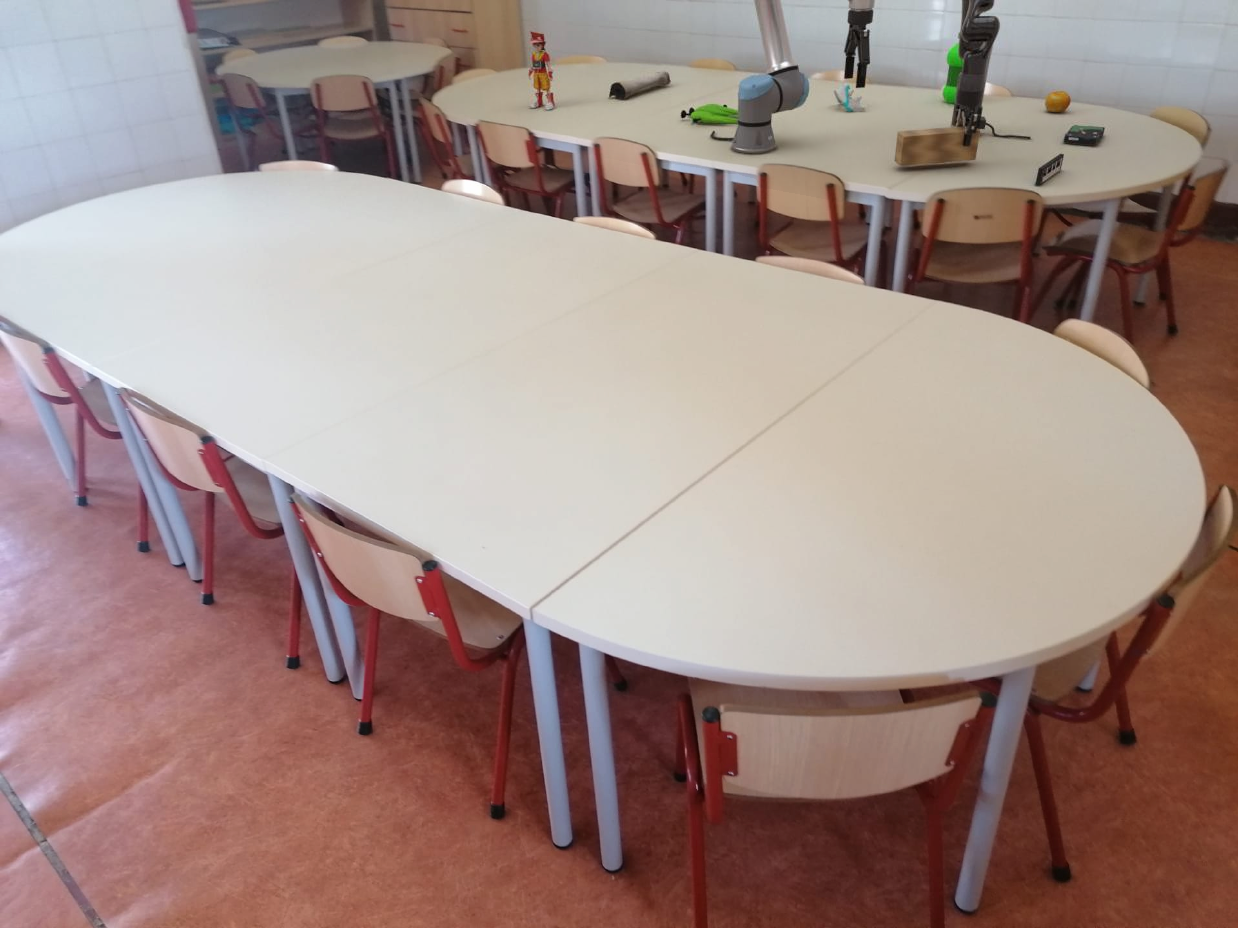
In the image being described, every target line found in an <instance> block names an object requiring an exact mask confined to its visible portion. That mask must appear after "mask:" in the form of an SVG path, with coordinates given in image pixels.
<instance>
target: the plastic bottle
mask: <svg viewBox="0 0 1238 928" xmlns="http://www.w3.org/2000/svg"><path fill="white" fill-rule="evenodd" d="M959 37H960V31H959V32H958V36H957V39H959ZM958 45H959V42H957V43H956V44H954V45H953V46H952V47H951V48H950V49H949V50H948V52H947V54H946V63H947V64H948V69H947V70H948V71H947V76H946V77H947V78H946V84H945V85H944V87H943V90H942V97H943V99H944V100H945V101H946V102H947V103H948V104H954V103H955V96H956V90H957V83H958V77H959V74H960V73H961V72H962V66H963V60H961V59H960V58H959V56H958Z"/></svg>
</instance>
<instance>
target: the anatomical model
mask: <svg viewBox="0 0 1238 928" xmlns="http://www.w3.org/2000/svg"><path fill="white" fill-rule="evenodd" d="M850 89H851V87H850V84H848V83H847V82H844V81H843V82H842V84H841V85H840V86H839V87H836V88H834V90H833V94H834V96H835V98H836V100H837V102H838V104H841V105H843V106H844V108H845V110H846V111H847V112H849V113H850V112H854V111H859V110H860V111H863V110H864V111H865V109H866V108H867V106H866V105H861V104H860V101H861V100H862V99H863V96H862V95H860V96H857V97H855V98H853V97H852V95H853V93H854V92H855V89H854V90H851V91H849V90H850Z"/></svg>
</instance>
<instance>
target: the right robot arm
mask: <svg viewBox="0 0 1238 928" xmlns="http://www.w3.org/2000/svg"><path fill="white" fill-rule="evenodd" d="M994 6H995V0H961V18H960V29H959V32H960V37H959V38H958V43H959V45H958V56H959V58H960V59H961V60H963V66H962V72H961V73H960V74H959V77H958V83H957V90H956V96H955V103H953V110H952V115H951V124H950V126H949V127H959V126H963V127H964V128H965V134H964V140H963V146H970V144H971V137H972V134H973V133H976V131H977V128H978V129H979V130H985V129H986V127H989V128H990V129H991V134H992V135H993V136H994V137H995V138H996V137H998V138H1015V139H1025V140H1031V138H1032V137H1031V136H1029V135H1028V136H1026V135H1015V134H1002V135H1000V134H997V133H995V128H994V126H993V125H992V124H990V123H988V122H987V119H986V117H985V116H983V109H984V107H983V102H984V96H985V90H986V83H987V79H988V72H989V67H990V63H991V58H992V52H993V49H994V44H995V41H996V39H997V37H998V36H999V35H998V34H999V32H1000V30H1001V29H1000V28H1001V22H1000V19H999V17H998V16H997V15H982V14H983V13H987V12H989V11H991V10H992V9H993V8H994Z"/></svg>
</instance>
